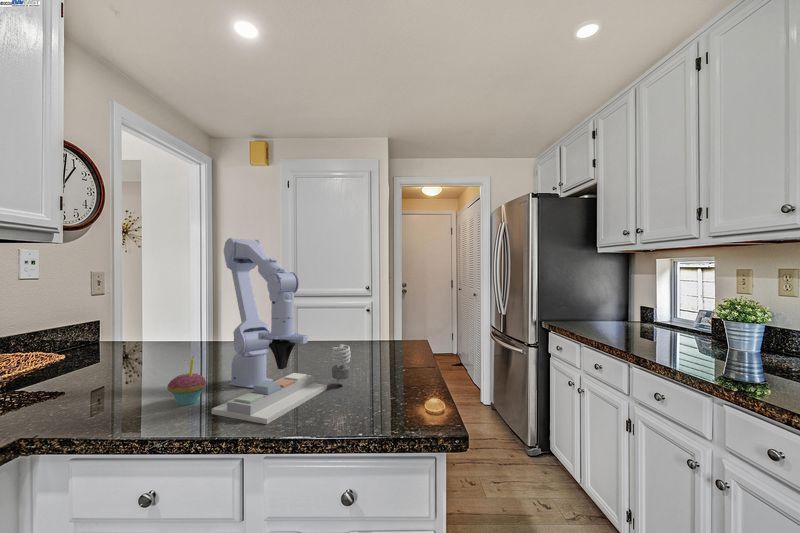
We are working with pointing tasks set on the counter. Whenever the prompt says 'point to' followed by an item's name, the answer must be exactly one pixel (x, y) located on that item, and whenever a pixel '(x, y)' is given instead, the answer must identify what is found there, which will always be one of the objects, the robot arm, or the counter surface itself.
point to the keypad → (272, 402)
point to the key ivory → (296, 376)
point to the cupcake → (187, 387)
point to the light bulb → (341, 364)
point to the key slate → (266, 387)
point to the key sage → (249, 398)
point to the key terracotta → (285, 382)
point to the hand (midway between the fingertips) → (282, 368)
